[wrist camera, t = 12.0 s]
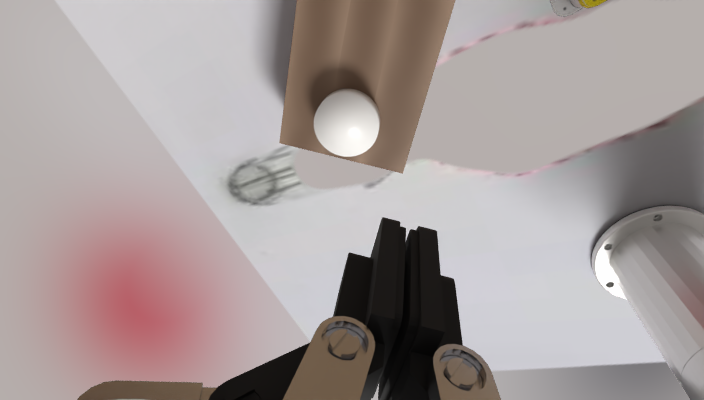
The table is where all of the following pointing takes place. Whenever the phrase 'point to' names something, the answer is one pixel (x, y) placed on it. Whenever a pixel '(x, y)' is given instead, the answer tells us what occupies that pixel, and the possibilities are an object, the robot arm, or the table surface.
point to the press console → (364, 68)
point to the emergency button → (572, 6)
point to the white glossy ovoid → (347, 122)
